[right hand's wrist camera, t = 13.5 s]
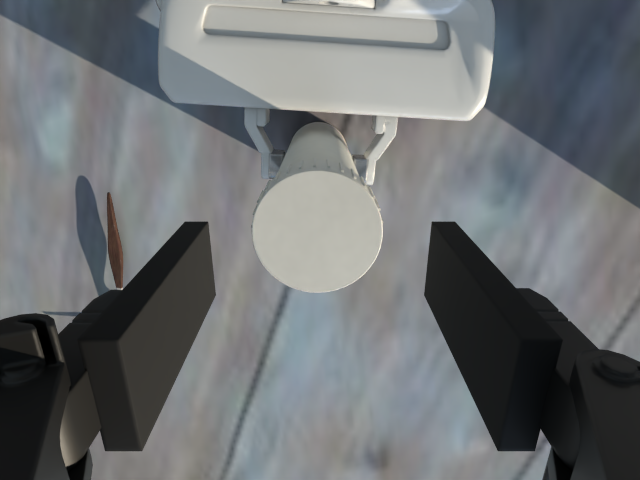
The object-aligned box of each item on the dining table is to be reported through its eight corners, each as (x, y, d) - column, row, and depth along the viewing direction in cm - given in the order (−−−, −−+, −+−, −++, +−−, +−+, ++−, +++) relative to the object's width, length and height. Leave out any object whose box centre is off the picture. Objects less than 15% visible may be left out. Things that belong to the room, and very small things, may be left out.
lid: (292, 289, 20) (289, 313, 18) (235, 190, 18) (224, 205, 16) (396, 243, 19) (405, 263, 17) (346, 135, 17) (350, 143, 15)
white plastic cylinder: (305, 188, 36) (292, 299, 18) (279, 138, 35) (236, 205, 17) (356, 164, 35) (393, 255, 17) (331, 111, 34) (345, 151, 16)
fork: (126, 192, 36) (116, 198, 34) (141, 346, 42) (133, 359, 40) (96, 189, 36) (84, 196, 34) (115, 345, 42) (105, 357, 40)
